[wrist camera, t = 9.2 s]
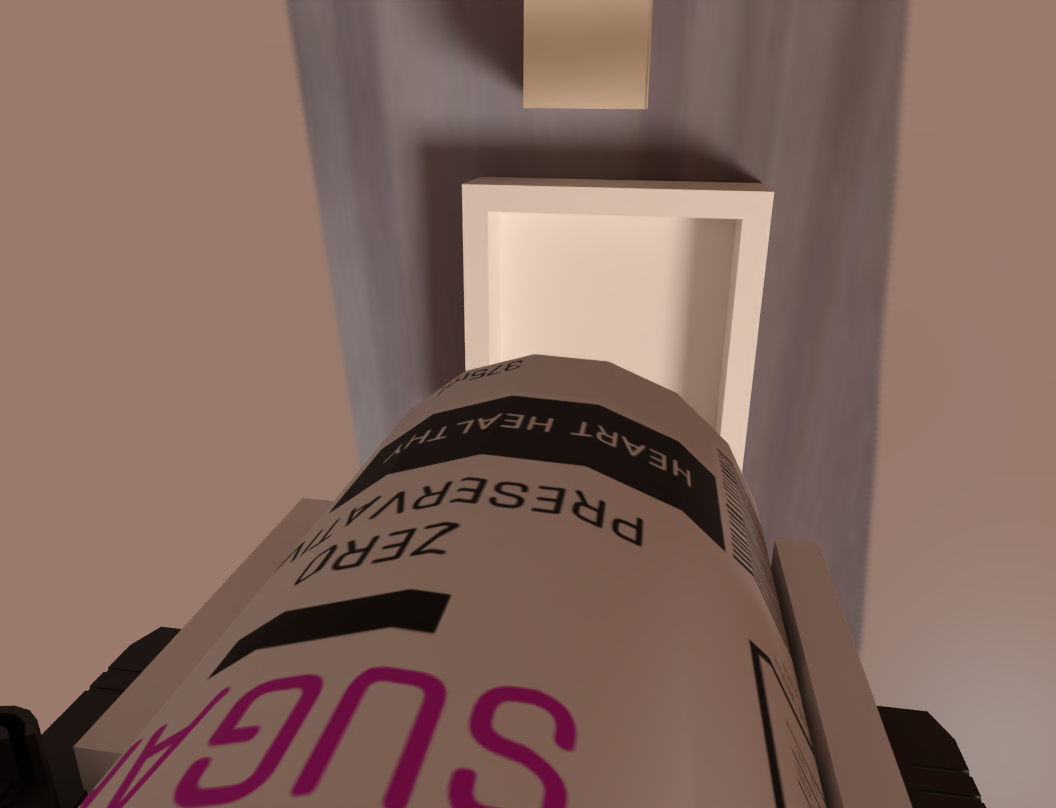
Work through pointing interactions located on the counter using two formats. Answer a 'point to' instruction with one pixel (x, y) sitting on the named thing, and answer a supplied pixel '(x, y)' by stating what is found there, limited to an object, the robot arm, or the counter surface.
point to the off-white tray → (622, 281)
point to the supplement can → (505, 624)
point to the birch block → (587, 53)
